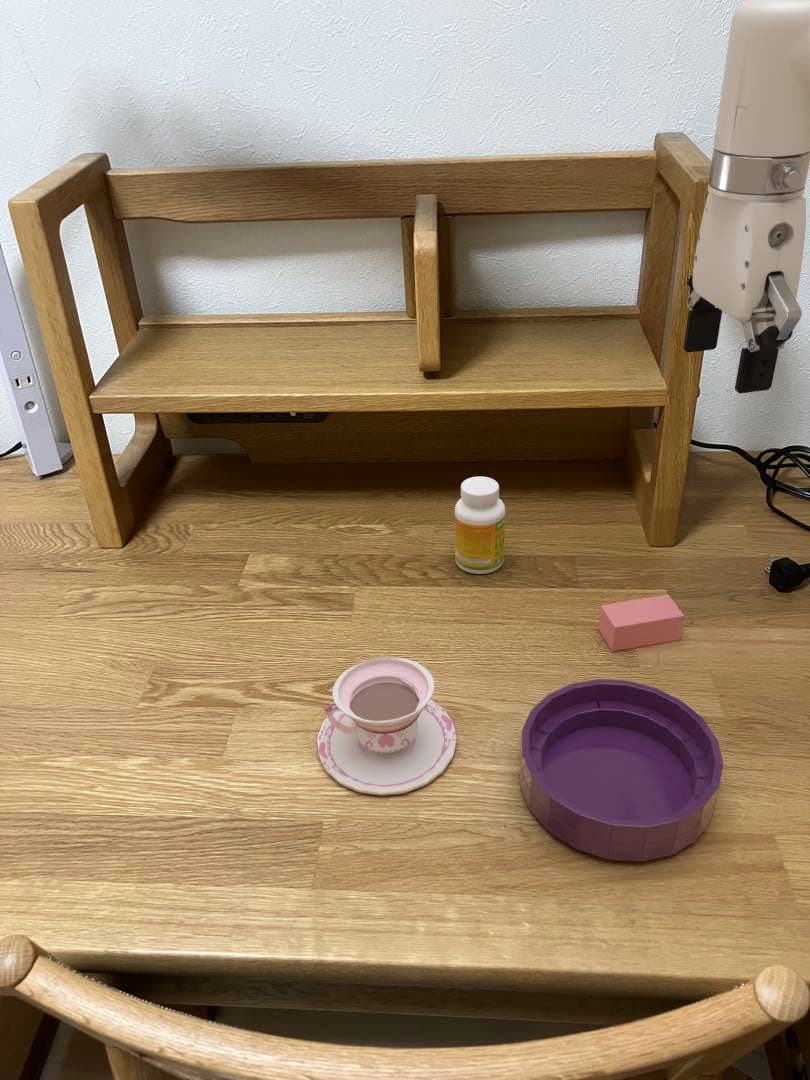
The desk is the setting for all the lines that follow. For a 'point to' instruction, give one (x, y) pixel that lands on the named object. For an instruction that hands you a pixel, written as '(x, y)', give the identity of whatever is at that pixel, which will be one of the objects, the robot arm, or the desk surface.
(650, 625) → the eraser
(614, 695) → the bowl
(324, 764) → the teacup
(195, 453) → the desk surface
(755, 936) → the desk surface
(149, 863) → the desk surface
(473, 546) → the supplement bottle
